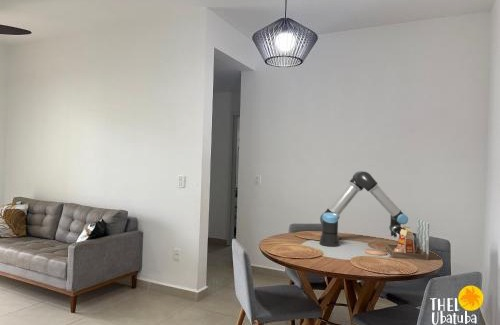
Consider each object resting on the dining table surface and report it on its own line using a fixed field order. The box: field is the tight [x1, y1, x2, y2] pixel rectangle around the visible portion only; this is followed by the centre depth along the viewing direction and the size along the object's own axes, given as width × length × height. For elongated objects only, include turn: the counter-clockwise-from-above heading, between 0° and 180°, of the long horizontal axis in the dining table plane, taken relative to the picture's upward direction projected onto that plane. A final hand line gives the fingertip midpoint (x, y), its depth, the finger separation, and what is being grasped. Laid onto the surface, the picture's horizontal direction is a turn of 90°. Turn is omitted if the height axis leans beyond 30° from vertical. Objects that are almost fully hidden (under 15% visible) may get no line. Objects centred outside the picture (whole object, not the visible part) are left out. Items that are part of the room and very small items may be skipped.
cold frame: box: [384, 218, 430, 261], centre depth 240 cm, size 25×22×24 cm
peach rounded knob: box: [393, 248, 402, 252], centre depth 234 cm, size 5×5×5 cm
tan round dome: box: [364, 248, 388, 256], centre depth 242 cm, size 15×15×1 cm
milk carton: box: [396, 225, 415, 253], centre depth 240 cm, size 9×9×20 cm
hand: (406, 237), depth 240 cm, fingers closed on milk carton, 9 cm apart
